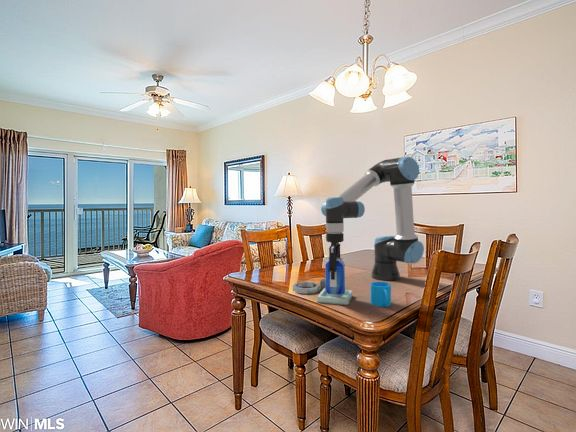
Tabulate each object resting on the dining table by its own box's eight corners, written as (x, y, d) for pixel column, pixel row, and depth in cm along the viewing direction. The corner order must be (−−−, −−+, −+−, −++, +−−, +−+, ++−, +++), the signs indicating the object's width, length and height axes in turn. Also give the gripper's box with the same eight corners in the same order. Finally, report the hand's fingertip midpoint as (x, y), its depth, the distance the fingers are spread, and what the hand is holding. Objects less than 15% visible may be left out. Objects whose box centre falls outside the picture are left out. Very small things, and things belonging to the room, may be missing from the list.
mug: (367, 300, 135) (367, 282, 134) (386, 300, 136) (386, 281, 135) (378, 310, 123) (378, 290, 123) (398, 309, 124) (398, 289, 123)
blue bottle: (346, 292, 140) (345, 257, 139) (343, 298, 132) (343, 261, 131) (327, 291, 143) (327, 256, 142) (323, 296, 135) (323, 260, 134)
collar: (321, 287, 156) (321, 282, 156) (315, 294, 144) (315, 289, 144) (297, 285, 160) (297, 281, 160) (290, 292, 148) (290, 287, 148)
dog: (328, 289, 153) (328, 279, 153) (326, 291, 149) (326, 281, 149) (322, 288, 154) (322, 278, 153) (320, 291, 150) (320, 280, 150)
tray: (352, 296, 142) (352, 290, 142) (348, 305, 129) (348, 299, 129) (323, 293, 146) (323, 288, 146) (317, 302, 134) (317, 296, 133)
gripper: (330, 230, 147) (331, 277, 148) (320, 235, 127) (321, 289, 129) (346, 230, 145) (347, 278, 146) (339, 235, 125) (339, 291, 126)
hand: (335, 283), depth 137 cm, fingers closed on blue bottle, 8 cm apart
